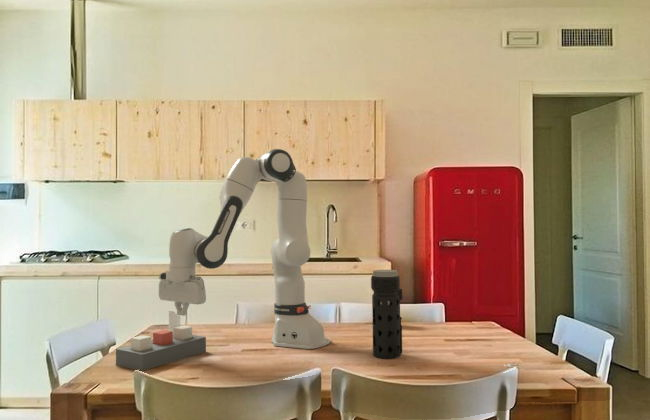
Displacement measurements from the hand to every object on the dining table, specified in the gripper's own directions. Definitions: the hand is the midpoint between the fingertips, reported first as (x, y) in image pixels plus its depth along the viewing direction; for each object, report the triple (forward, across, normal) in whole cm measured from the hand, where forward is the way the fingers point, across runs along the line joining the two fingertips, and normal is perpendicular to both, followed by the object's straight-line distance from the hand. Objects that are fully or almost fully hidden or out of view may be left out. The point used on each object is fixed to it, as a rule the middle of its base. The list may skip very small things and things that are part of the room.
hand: (181, 315), depth 172 cm
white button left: (+9, 0, +17) cm, 19 cm away
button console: (+13, 0, +8) cm, 15 cm away
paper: (+12, -96, -41) cm, 105 cm away
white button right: (+9, 0, 0) cm, 9 cm away
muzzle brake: (+12, -63, -32) cm, 72 cm away
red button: (+9, 0, +8) cm, 12 cm away
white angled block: (+13, +22, -17) cm, 30 cm away
